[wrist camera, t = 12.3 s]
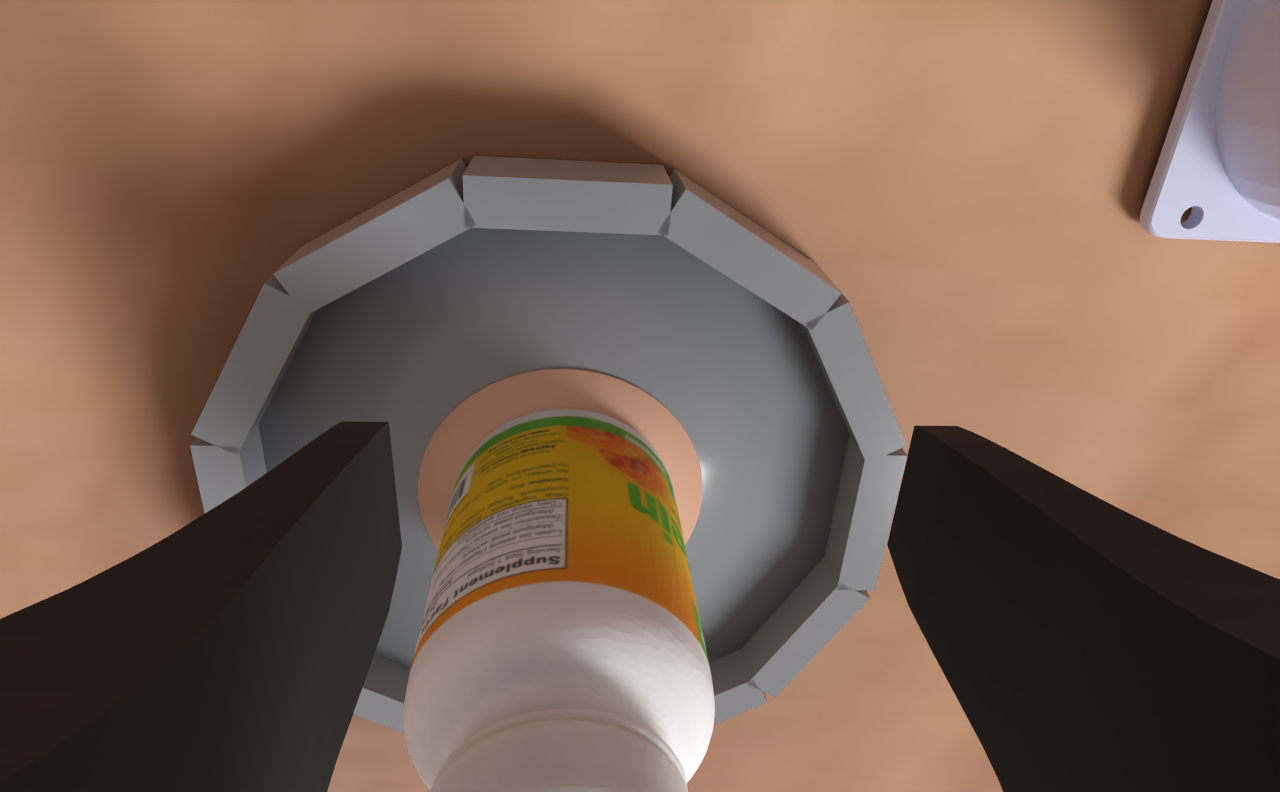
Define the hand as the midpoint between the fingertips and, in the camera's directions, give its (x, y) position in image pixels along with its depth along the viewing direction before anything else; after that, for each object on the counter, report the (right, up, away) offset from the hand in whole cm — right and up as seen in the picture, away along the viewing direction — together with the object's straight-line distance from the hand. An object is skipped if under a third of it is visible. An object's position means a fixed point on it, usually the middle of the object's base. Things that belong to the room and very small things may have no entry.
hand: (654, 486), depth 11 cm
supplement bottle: (-2, -1, +9) cm, 9 cm away
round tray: (-2, -1, +10) cm, 10 cm away
